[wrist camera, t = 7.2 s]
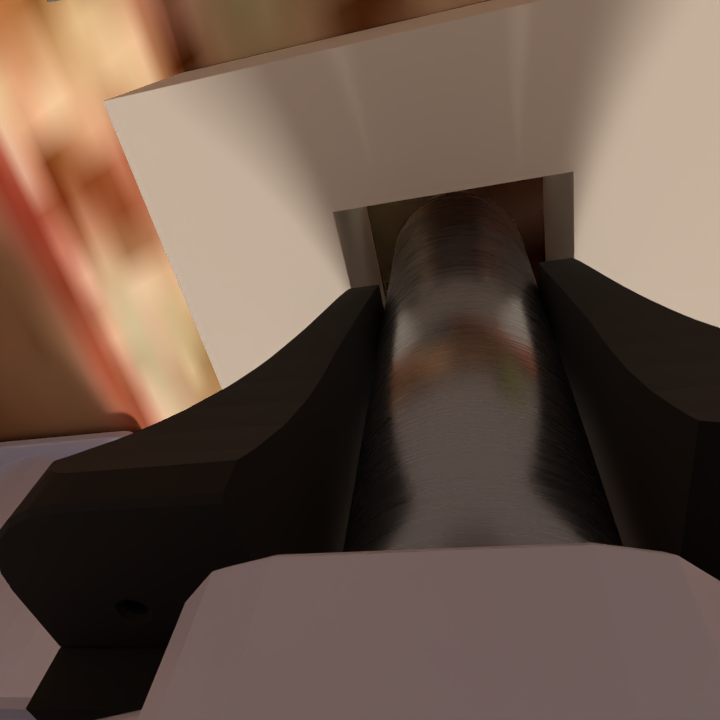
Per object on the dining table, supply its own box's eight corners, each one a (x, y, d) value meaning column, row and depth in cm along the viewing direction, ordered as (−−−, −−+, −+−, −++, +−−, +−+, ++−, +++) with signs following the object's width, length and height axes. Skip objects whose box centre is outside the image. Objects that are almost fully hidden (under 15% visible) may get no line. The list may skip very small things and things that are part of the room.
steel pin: (408, 321, 15) (367, 761, 6) (382, 208, 13) (281, 593, 5) (528, 301, 14) (662, 767, 6) (515, 180, 12) (671, 572, 4)
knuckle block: (292, 398, 19) (262, 486, 16) (183, 72, 14) (103, 101, 10) (683, 359, 17) (745, 454, 13) (731, -57, 11) (852, -72, 8)
